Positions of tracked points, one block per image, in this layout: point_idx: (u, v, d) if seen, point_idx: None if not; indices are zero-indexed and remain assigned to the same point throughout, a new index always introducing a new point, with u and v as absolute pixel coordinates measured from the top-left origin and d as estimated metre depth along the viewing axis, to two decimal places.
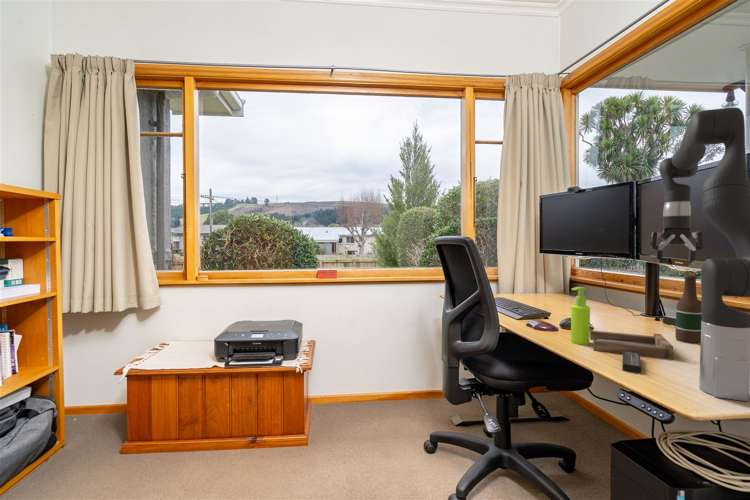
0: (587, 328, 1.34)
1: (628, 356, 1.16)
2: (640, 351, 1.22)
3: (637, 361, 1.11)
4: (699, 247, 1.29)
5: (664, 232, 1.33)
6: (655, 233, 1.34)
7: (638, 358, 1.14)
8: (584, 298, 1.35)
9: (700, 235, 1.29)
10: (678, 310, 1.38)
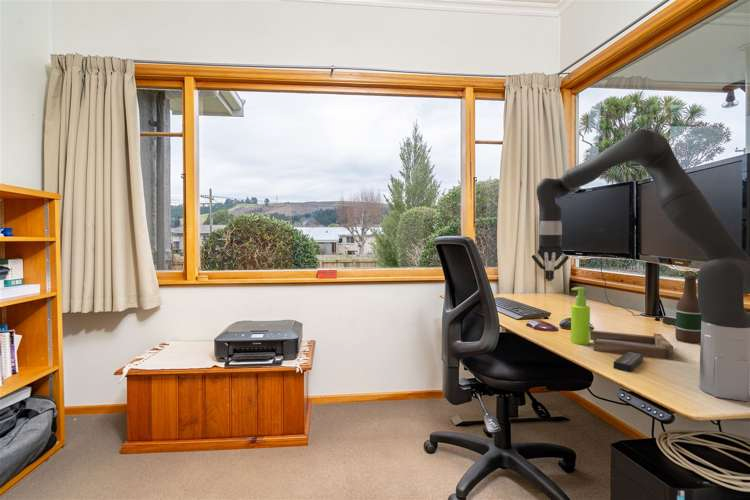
0: (587, 328, 1.34)
1: (628, 356, 1.16)
2: (640, 351, 1.22)
3: (632, 361, 1.12)
4: (556, 267, 1.38)
5: (538, 251, 1.40)
6: (533, 256, 1.41)
7: (636, 358, 1.14)
8: (584, 298, 1.35)
9: (565, 259, 1.36)
10: (678, 310, 1.38)
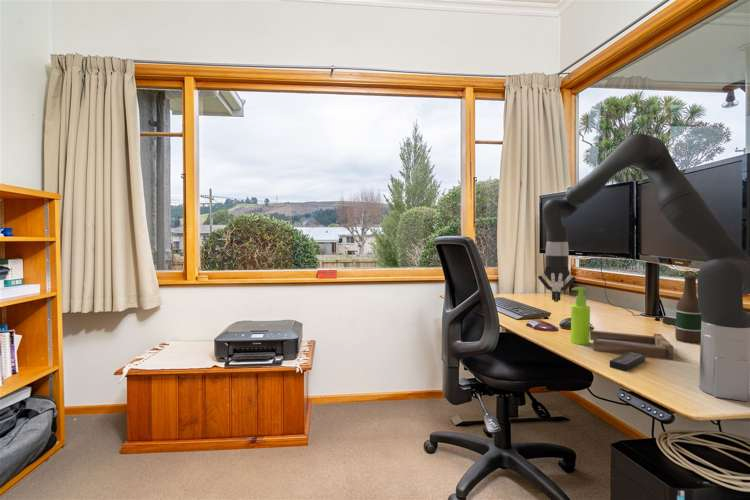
0: (587, 328, 1.34)
1: (627, 356, 1.16)
2: (640, 351, 1.22)
3: (630, 360, 1.12)
4: (563, 288, 1.37)
5: (545, 271, 1.39)
6: (540, 277, 1.40)
7: (636, 358, 1.14)
8: (584, 298, 1.35)
9: (572, 280, 1.35)
10: (678, 310, 1.38)
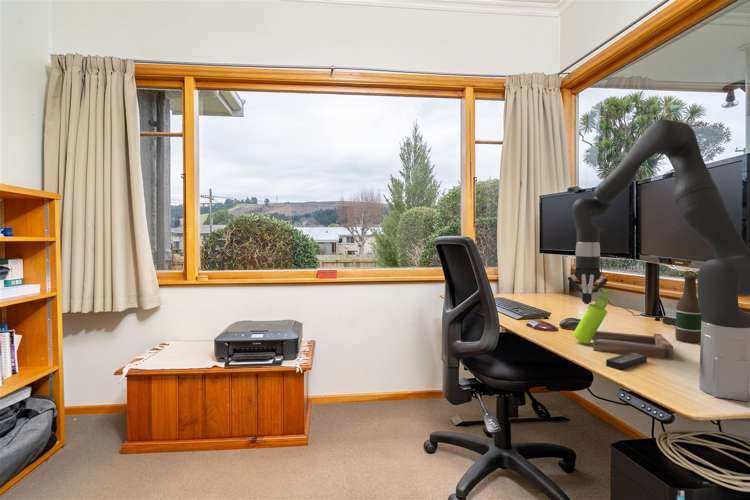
0: (595, 330, 1.33)
1: (627, 356, 1.16)
2: (640, 351, 1.22)
3: (628, 360, 1.12)
4: (594, 290, 1.33)
5: (575, 273, 1.35)
6: (569, 278, 1.36)
7: (635, 358, 1.14)
8: (606, 302, 1.31)
9: (604, 281, 1.31)
10: (678, 310, 1.38)
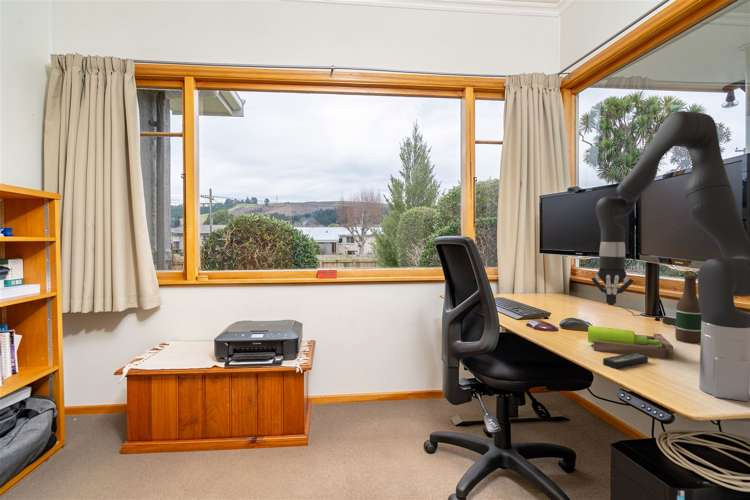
0: None
1: (627, 355, 1.16)
2: (640, 351, 1.22)
3: (626, 359, 1.13)
4: (619, 291, 1.30)
5: (599, 273, 1.32)
6: (593, 279, 1.33)
7: (634, 358, 1.14)
8: None
9: (630, 282, 1.28)
10: (678, 310, 1.38)
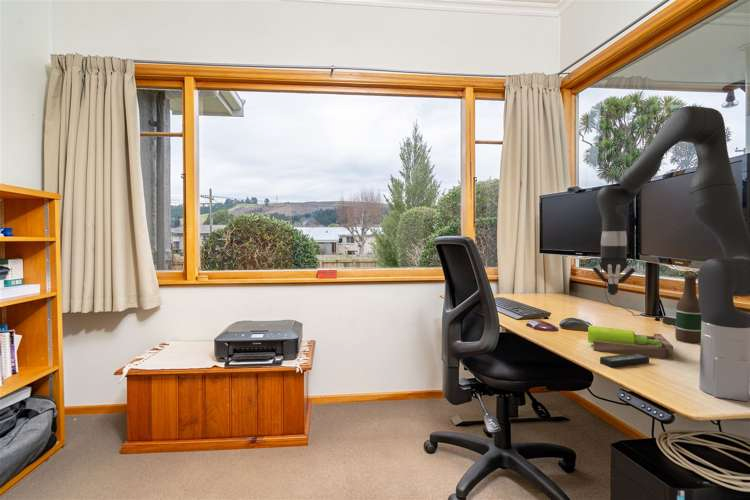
0: None
1: (627, 355, 1.16)
2: (640, 351, 1.22)
3: (623, 359, 1.13)
4: (621, 280, 1.29)
5: (600, 263, 1.32)
6: (595, 268, 1.32)
7: (632, 358, 1.14)
8: None
9: (631, 271, 1.28)
10: (678, 310, 1.38)
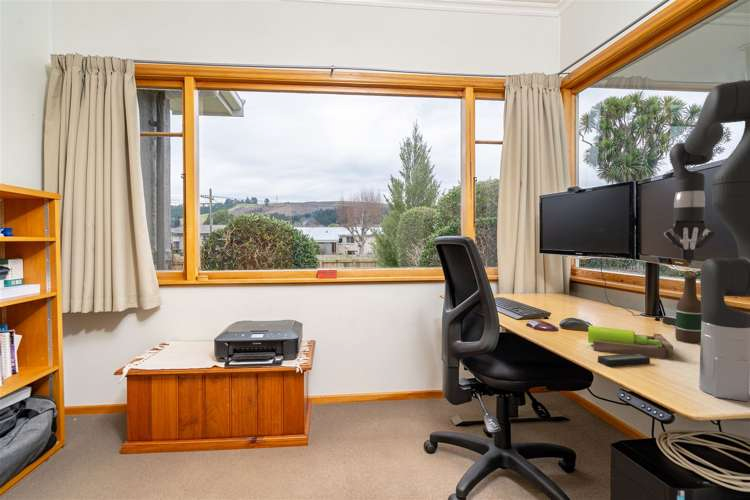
0: None
1: (627, 355, 1.16)
2: (640, 351, 1.22)
3: (621, 358, 1.14)
4: (698, 245, 1.18)
5: (674, 227, 1.21)
6: (668, 233, 1.21)
7: (631, 358, 1.14)
8: None
9: (710, 235, 1.17)
10: (678, 310, 1.38)
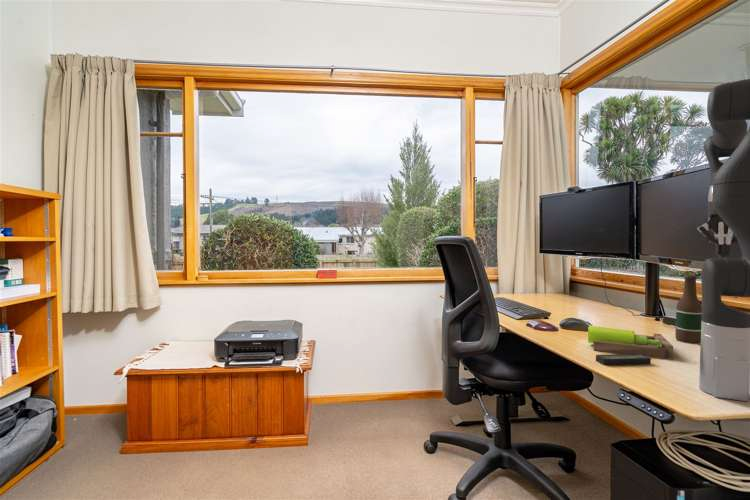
0: None
1: (627, 355, 1.16)
2: (640, 351, 1.22)
3: (619, 358, 1.14)
4: (735, 240, 1.14)
5: (709, 221, 1.16)
6: (702, 228, 1.17)
7: (630, 358, 1.14)
8: None
9: None
10: (678, 310, 1.38)
